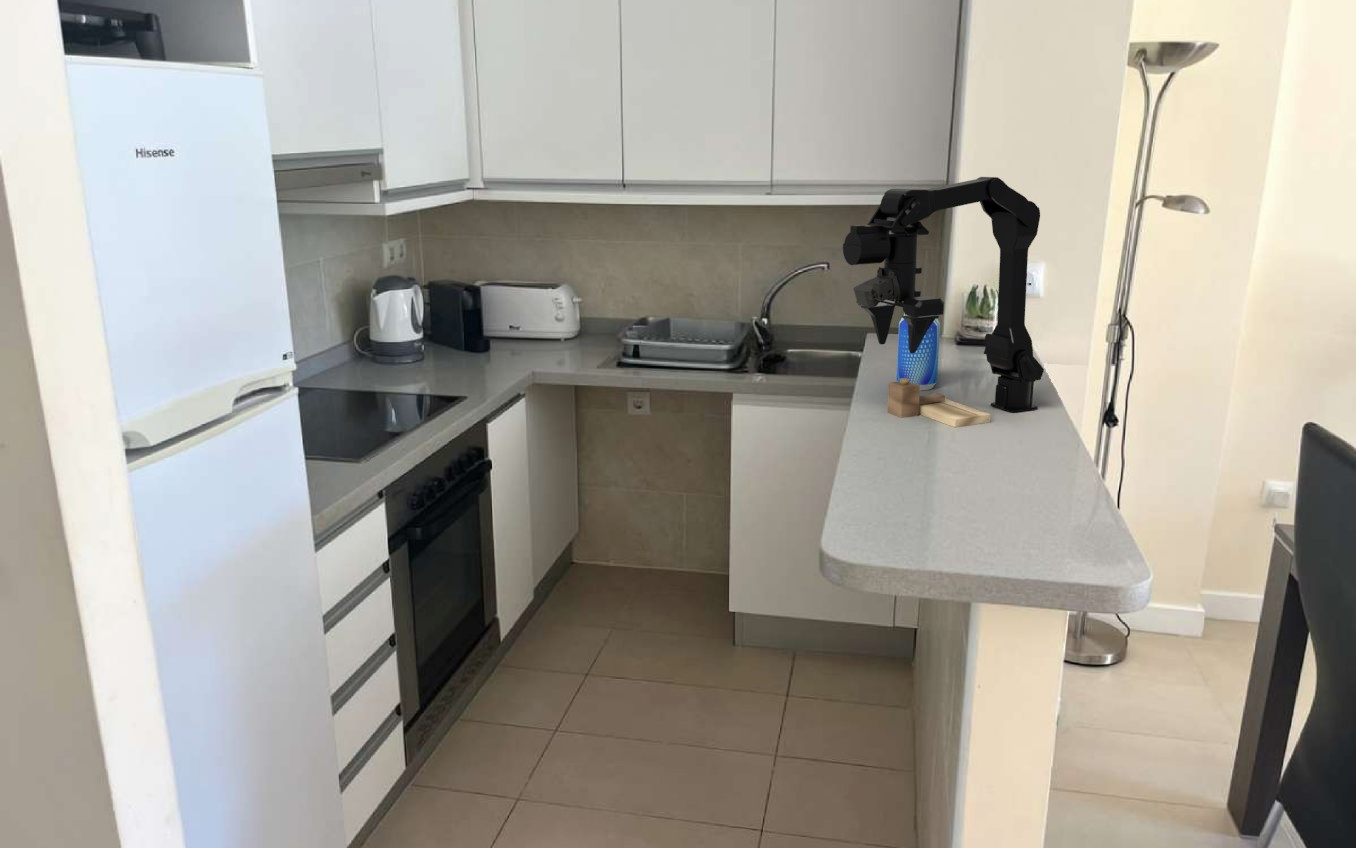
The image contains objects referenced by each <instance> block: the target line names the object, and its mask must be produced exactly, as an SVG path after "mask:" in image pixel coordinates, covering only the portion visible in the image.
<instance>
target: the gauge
mask: <svg viewBox="0 0 1356 848" xmlns="http://www.w3.org/2000/svg"><path fill="white" fill-rule="evenodd" d="M887 389H888V392H887V393H888V394H887V395H888V396H887V411H886V412H887V414H889V415H892V416H894V417H897V418H899V419H905V418H912V417H918V416H919V415H920V414H919V404H925V403H932V402H939V401H945V399H946V395H944V394H942V393H938V392H937V393H930V394H924V395H922V394H921V395H920V392H921V390H920V385H918V384H915V383H912V382H909V379H908V378H900V381H899V382H897V381H891V382H888V388H887Z"/></svg>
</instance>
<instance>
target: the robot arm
mask: <svg viewBox="0 0 1356 848" xmlns="http://www.w3.org/2000/svg"><path fill="white" fill-rule="evenodd" d="M974 203H979V204H980V207H981V209H982V211H983V212H984V213H985V214H986V215H987V216H988V217H989V218H990V220H991V228H992V235H993V237H994V239H995V241H996V243H997V245H998V248H999V273H998V299H997V323H996V326H995V328H994V329H993V330H992V332H991V333H988V332H987V333H985V336H984V341H985V346H984V347H985V348H984V351H983V354H984V355H986V361H987V363H989V365H990V370H991V373H992V374H994V375H998V376H997V384H996V385H995V393H994V394H995V395H994V397H995V398H994V401H993V402H990V406H991V407H994V408H997V409H1001V410H1003V411H1007V412H1009V413H1017V412H1025V411H1031V410H1038V408H1039V406H1038V405H1035V404H1033V399H1034V398H1033V397H1034V384H1035V382H1037V381H1040V380H1041V379H1042V376H1043V373H1044V371H1045V369H1044V367H1043V366H1042V364H1041V363H1039V361H1038V360H1037V359H1036V358H1035V356H1034V350H1033V349H1034V348H1033V341H1032V337H1031V336H1030V333H1029V331H1028V329H1027V327H1026V322H1025V321H1026V302H1027V301H1026V300H1027V284H1028V283H1027V281H1028V280H1027V279H1028V277H1027V276H1028V261H1029V259H1028V257H1029V248H1030V247H1031V245H1032V243H1033V242H1034V240H1035V238H1036V236H1037V235H1038V231H1039V225H1040V220H1041V211H1040V208H1039V207H1040V206H1039V207H1038V205H1037V204H1036V203H1035V202H1034V201H1033V200H1032V201H1031V200H1029V199H1027V198H1026V197H1025V196H1024V195H1023V194H1021V193H1019V192H1018V191H1016V190H1015V189H1013V188H1011V187H1010V186H1008V184H1006V182H1005V181H1004V180H1002V178H999V177H996V176H995V177H994V176H980V177H978V178H975V179H971V180H965V181H961V182H956V183H951V184H946V185H941V186H936V187H931V188H926V189H925V188H891V189H889V190H888V189H887V190H886V191H885V192H884V195H883V196H882V198H881V200H880V204H879V206H878V207H877V209H876V211H875V212H874V213H873V215H872V217H871V218H870V220H869V222H868V223H867V224H866V225H859V224H851V225H850V226H849V227H850V232H849V233H848V234H846V236H845V239H844V242H843V244H842V254H843V258H844V260H845V262H846V263H847V264H848V265H850V266H861V265H862V266H864V265H873V264H874V265H876V264H877V265H878V264H881V263H883V266H879V267H878V269H877V271H876V272H877V273H876V276H875V277H873V278H871V279H868V280H866V281H864V282H862V283H860V284H858V285H856V286H854V287H853V292H854V295H855V299H856V304H857V306H860V308H861V309H862V310H864V311H865V312H867V314H869V316H870V317H871V321H872V324H873V326H874V327H873V328H874V330H875V335H876V338H877V341H878V344H879V345H885V344H886V342H887V339H888V336H889V332H890V328H891V324H892V319H893V316H894V311H895V307H901V308H902V311H903V314H904V313H905V315H907V316H904V315H901V319H902V318H903V319H904V320H905V321H906V323H907V324H908V344H909V352H910V353H915V352H916V351H917V349H918V347H919V345H920V343H921V342H922V340H923V338H924V336H925V334H926V332H927V331H928V329H929V328H930V326H931V325H932V323H933V322H934V320H935V319H937V318H938V319H939V317H940V316H942V315H944V314H945V302H944V301H943V300H942V298H940V297H936V296H931V295H923V296H921V293H922V292H921V290H917V274H918V275H919V274H922V273H923V272H922V270H923V268H922V267H919V266H918V250H919V249H918V247H919V246H918V244H919V243H918V241H919V236H928V235H929V234H930V231H929V230H928V229H927V228H926V227H925V226H924V225H923V224H922V222H921V221H923V220H925V219H927V218H929V217H931V216H932V215H934V214H935V213H937V212H938V211H942V210H947V209H952V208H956V207H961V206H965V205H969V204H974Z"/></svg>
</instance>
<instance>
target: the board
mask: <svg viewBox="0 0 1356 848" xmlns="http://www.w3.org/2000/svg"><path fill="white" fill-rule="evenodd" d="M918 415H921V416H923V417H926V418H928V419H931V420H934V421H937V422H939V423H941V424H942V423H943V424H945V425H948V426H949V427H953V428H960V427H967V426H973V425H979V424H985V423H986V424H987V423H990V422H991V413H988V412H986V411H985V412H984V411H982V410H979V409H977V408H974V407H970V406H967V405H964V404H961V403H958V402H956V401H952V400H950V399H947V398H945V401H939V402H932V403H925V404H919V414H918Z"/></svg>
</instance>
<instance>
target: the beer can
mask: <svg viewBox="0 0 1356 848" xmlns="http://www.w3.org/2000/svg"><path fill="white" fill-rule="evenodd" d="M903 316H907V315H905V313H904V312H903ZM940 331H941V322H940V321H939V318H937V319H935V320H934V322H933V323H932V325H931V326H930V328H929V329H928V331H927V332H926V334H925V336H924V338H923V340H922V342H921V343H920V345H919V347H918V349H917V351H916V352H915V353H910V352H909V344H908V324H907V323H906V321H905V320H904V319H903V318H902V317H901V319H900V321H899V322H898V337H897V339H898V341H897V342H898V343H897V361H896V362H897V364H896V382H899V381H900V378H908V379H909V382H912V383H915V384H918V385H920V391H928V390H929V391H930V390H931V389H933V388H934V386H935V384H937V383H938V372H939V369H938V367H939V356H940V355H939V352H940V337H941V336H940V335H941V332H940Z"/></svg>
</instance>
